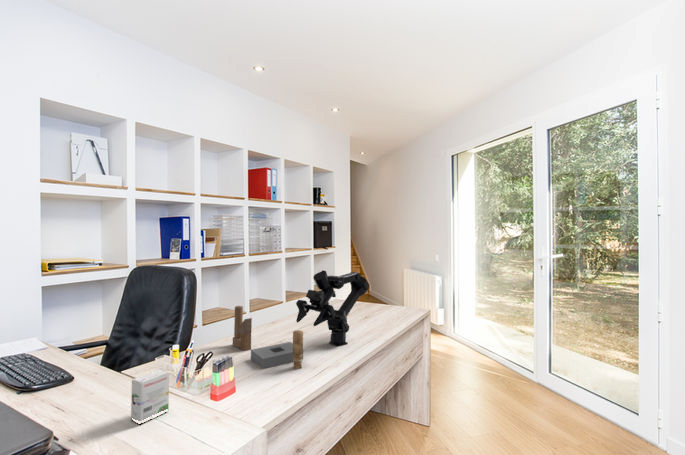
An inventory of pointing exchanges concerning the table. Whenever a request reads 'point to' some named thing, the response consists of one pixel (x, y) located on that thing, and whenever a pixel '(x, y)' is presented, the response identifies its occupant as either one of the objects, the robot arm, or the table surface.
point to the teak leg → (297, 348)
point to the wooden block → (242, 330)
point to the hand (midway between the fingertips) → (305, 323)
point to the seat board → (273, 355)
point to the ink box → (149, 395)
